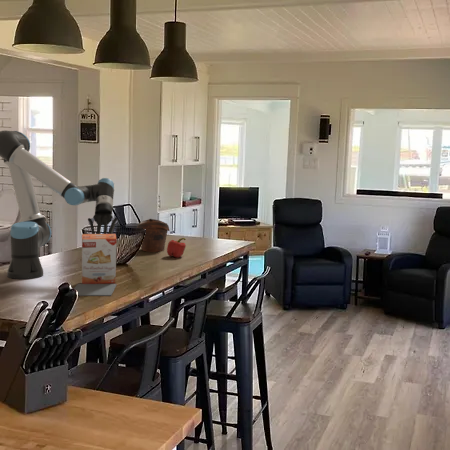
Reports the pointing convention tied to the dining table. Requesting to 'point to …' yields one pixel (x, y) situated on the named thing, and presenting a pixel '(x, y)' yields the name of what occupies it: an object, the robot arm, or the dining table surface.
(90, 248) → the cracker box
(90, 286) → the grey mat
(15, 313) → the dining table surface
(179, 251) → the vegetable
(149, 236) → the brown lidded pot
